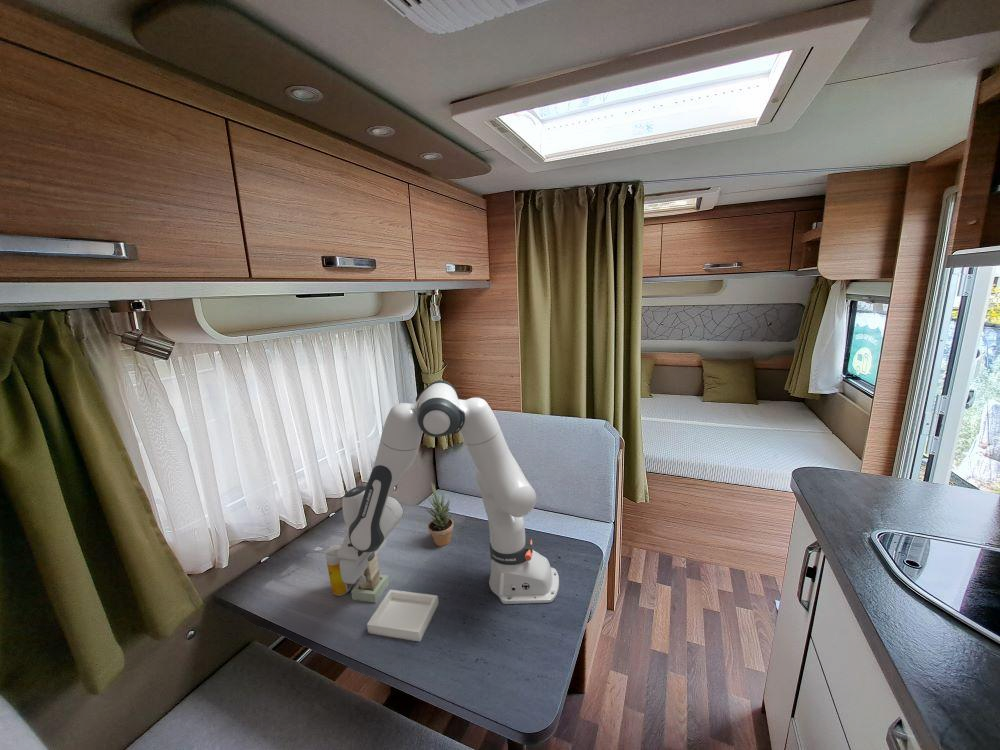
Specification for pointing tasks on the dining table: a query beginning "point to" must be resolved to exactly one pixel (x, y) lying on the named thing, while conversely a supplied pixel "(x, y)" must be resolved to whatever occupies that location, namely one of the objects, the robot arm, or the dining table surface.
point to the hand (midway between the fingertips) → (369, 574)
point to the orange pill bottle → (336, 571)
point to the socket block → (370, 595)
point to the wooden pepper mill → (371, 574)
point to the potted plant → (440, 520)
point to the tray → (403, 615)
